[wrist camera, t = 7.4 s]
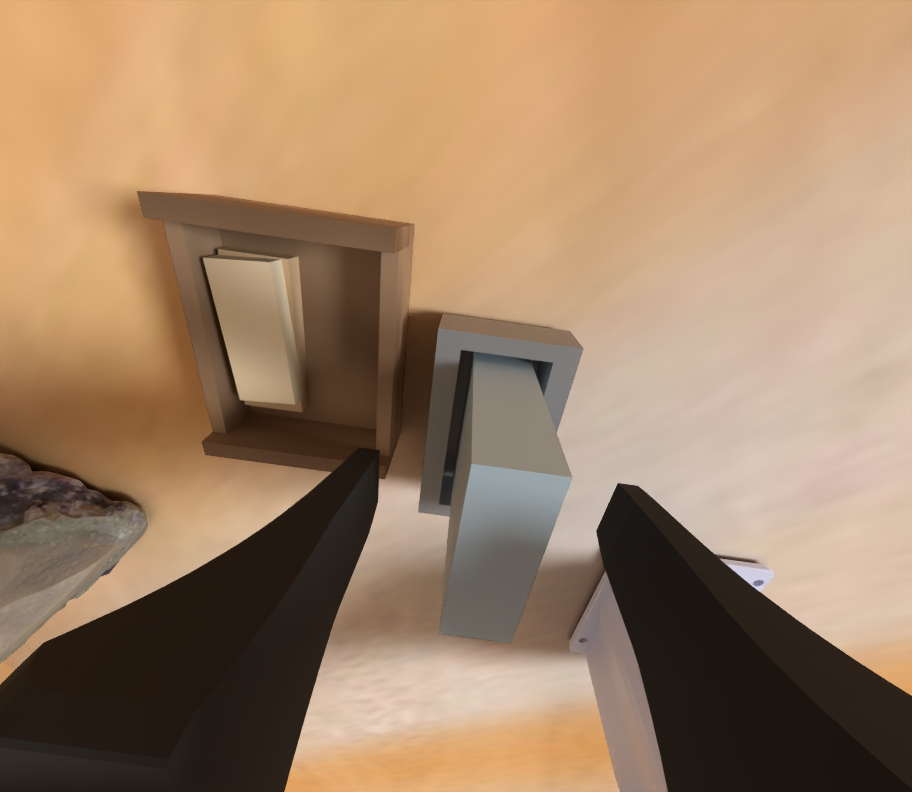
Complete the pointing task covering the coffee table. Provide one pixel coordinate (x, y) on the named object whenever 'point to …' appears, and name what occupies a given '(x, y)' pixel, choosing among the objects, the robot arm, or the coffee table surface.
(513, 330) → the stand
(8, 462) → the mineral rock
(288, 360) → the block
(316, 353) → the frame
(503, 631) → the pale blue flat block
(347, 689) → the coffee table surface
